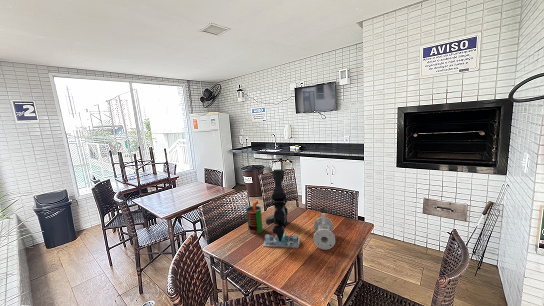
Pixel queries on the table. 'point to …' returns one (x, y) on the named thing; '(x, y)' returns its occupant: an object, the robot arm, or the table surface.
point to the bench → (291, 242)
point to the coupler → (282, 238)
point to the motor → (254, 218)
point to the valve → (323, 232)
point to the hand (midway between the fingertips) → (281, 237)
